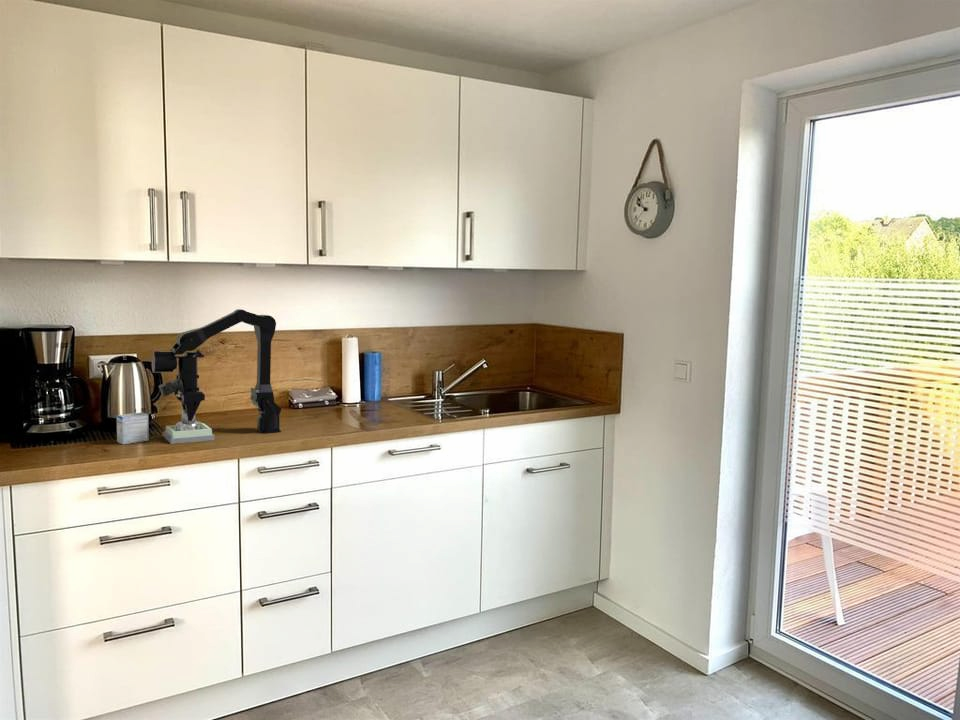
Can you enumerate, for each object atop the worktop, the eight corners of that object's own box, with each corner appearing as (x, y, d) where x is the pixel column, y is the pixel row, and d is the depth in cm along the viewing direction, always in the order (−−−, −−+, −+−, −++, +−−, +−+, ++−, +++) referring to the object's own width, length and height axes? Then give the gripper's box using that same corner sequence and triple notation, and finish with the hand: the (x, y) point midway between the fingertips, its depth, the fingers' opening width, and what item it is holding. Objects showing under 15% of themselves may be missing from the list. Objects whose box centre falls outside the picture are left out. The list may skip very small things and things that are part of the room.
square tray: (205, 432, 236) (205, 422, 235) (214, 439, 225) (214, 429, 225) (163, 436, 228) (163, 425, 228) (171, 443, 218) (170, 432, 217)
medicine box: (142, 439, 224) (141, 412, 223) (149, 441, 221) (148, 413, 220) (116, 442, 218) (116, 415, 217) (123, 444, 215) (122, 416, 214)
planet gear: (198, 426, 231) (197, 408, 231) (203, 429, 225) (202, 411, 225) (174, 428, 227) (173, 409, 227) (178, 431, 221) (178, 413, 221)
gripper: (155, 369, 228) (156, 417, 229) (166, 375, 213) (167, 426, 214) (191, 368, 234) (192, 414, 236) (204, 374, 219) (205, 423, 220)
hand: (188, 419), depth 226 cm, fingers closed on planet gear, 4 cm apart
